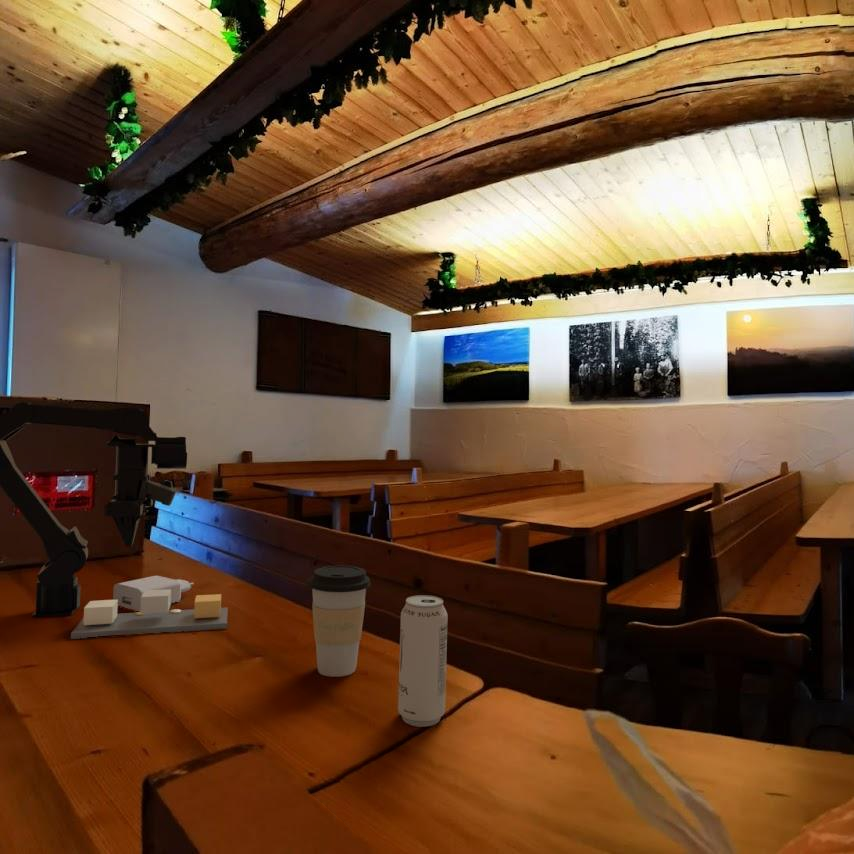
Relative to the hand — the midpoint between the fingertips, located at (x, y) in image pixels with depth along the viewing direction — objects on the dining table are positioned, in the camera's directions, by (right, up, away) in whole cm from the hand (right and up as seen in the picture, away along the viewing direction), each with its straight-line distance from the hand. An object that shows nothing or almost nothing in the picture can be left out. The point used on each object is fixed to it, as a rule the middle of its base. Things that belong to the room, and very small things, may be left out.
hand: (129, 546), depth 120 cm
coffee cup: (+47, -13, -29) cm, 57 cm away
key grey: (+11, -9, -11) cm, 18 cm away
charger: (+4, -13, +4) cm, 14 cm away
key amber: (+19, -11, -9) cm, 24 cm away
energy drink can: (+60, -13, -44) cm, 75 cm away
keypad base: (+11, -12, -11) cm, 20 cm away
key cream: (+2, -11, -14) cm, 18 cm away
